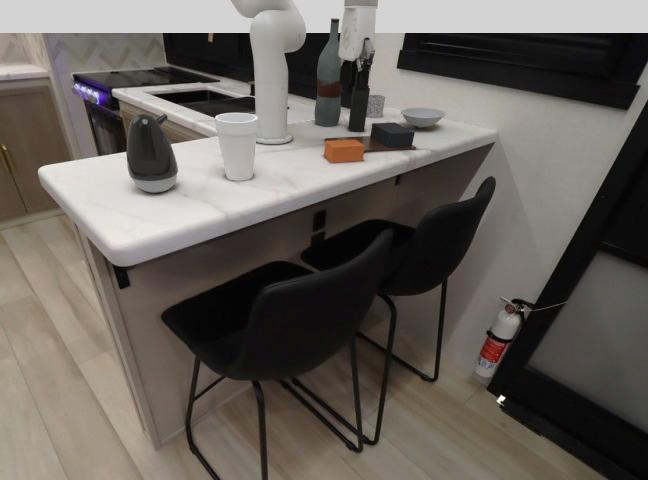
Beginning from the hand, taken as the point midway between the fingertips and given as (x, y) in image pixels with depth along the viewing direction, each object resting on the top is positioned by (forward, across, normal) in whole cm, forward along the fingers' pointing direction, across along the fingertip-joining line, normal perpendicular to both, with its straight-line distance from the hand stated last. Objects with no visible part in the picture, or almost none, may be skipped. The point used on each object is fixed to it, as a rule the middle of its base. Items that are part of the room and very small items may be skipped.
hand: (352, 87), depth 95 cm
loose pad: (+17, +2, -2) cm, 17 cm away
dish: (+17, -24, +39) cm, 49 cm away
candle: (+17, -26, +15) cm, 34 cm away
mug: (+17, -45, +29) cm, 56 cm away
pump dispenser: (+17, +13, -51) cm, 55 cm away
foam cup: (+17, +9, -32) cm, 37 cm away
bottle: (+17, -36, +8) cm, 40 cm away
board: (+17, -9, +12) cm, 22 cm away
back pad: (+16, -9, +19) cm, 26 cm away
